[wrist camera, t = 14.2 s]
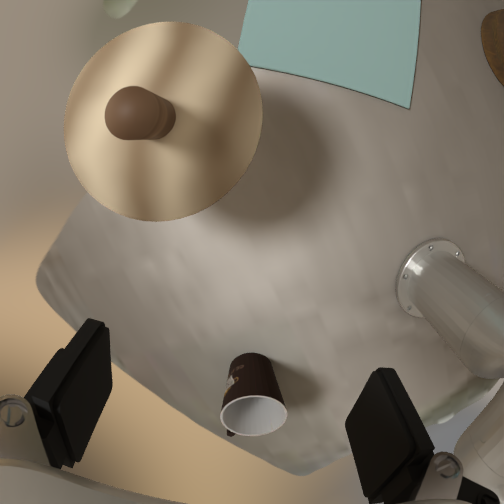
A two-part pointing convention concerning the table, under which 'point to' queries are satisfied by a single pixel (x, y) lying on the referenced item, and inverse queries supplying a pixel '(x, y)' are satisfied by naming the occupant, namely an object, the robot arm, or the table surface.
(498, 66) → the wooden container
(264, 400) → the coffee mug
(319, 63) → the rubber mat
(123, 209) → the maple lid
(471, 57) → the table surface
